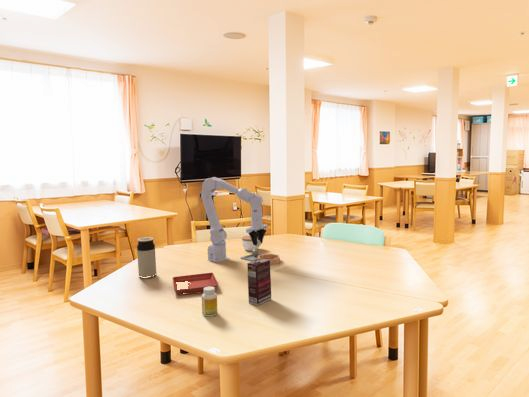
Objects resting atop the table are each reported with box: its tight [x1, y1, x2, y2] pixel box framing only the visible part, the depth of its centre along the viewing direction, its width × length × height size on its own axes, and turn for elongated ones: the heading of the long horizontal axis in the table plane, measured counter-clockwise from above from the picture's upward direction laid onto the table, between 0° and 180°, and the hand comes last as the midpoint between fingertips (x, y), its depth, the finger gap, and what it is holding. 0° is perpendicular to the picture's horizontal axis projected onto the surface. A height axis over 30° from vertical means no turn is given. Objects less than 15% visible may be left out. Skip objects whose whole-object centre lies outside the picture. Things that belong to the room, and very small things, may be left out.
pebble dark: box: [251, 249, 260, 256], centre depth 219 cm, size 4×4×4 cm
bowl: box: [258, 253, 281, 266], centre depth 208 cm, size 11×11×3 cm
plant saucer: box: [172, 272, 219, 295], centre depth 173 cm, size 18×18×3 cm
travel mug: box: [136, 236, 157, 277], centre depth 189 cm, size 8×8×18 cm
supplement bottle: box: [201, 286, 218, 317], centre depth 143 cm, size 5×5×10 cm
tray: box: [240, 252, 263, 262], centre depth 216 cm, size 12×9×1 cm
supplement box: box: [246, 258, 272, 307], centre depth 154 cm, size 9×5×16 cm, turn 141°
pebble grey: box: [255, 240, 262, 248], centre depth 210 cm, size 4×4×4 cm
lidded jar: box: [241, 235, 260, 252], centre depth 233 cm, size 11×11×9 cm
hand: (257, 244), depth 210 cm, fingers closed on pebble grey, 4 cm apart
